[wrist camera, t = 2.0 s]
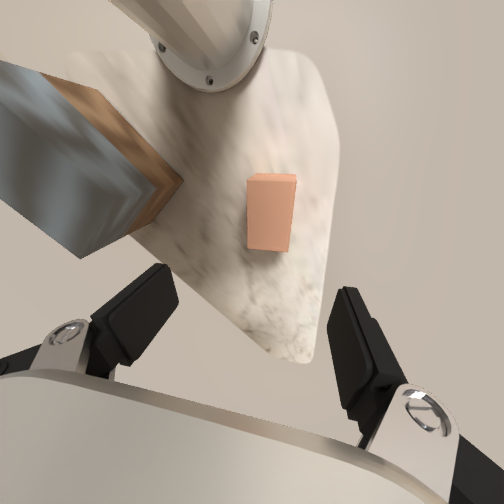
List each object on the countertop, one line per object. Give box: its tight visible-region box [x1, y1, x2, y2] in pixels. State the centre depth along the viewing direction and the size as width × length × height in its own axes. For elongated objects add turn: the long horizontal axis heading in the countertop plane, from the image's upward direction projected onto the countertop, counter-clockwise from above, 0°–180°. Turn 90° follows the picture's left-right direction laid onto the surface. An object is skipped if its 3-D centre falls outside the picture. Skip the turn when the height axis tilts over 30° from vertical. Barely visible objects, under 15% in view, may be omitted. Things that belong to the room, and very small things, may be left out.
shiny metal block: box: [0, 60, 184, 259], centre depth 21 cm, size 14×10×12 cm
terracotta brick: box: [247, 173, 297, 252], centre depth 22 cm, size 8×5×6 cm, turn 179°
